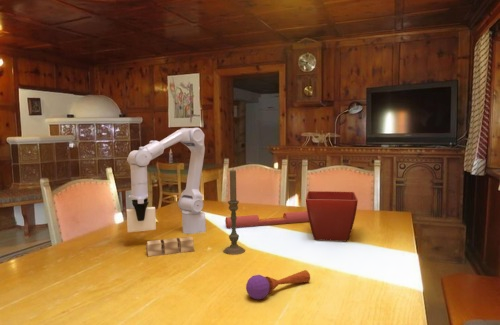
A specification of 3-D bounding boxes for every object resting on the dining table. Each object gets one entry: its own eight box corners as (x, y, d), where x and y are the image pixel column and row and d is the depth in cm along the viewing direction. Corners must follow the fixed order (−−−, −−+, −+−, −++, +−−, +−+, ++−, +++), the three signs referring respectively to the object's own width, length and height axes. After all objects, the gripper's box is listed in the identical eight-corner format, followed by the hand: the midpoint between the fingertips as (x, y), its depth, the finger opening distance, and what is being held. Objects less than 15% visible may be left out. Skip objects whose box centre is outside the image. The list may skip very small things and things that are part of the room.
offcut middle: (176, 249, 129) (176, 238, 129) (177, 252, 126) (177, 241, 125) (163, 250, 128) (163, 239, 128) (164, 254, 124) (164, 242, 124)
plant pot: (307, 229, 157) (307, 190, 155) (353, 231, 153) (354, 191, 152) (305, 242, 138) (305, 198, 137) (357, 245, 134) (358, 200, 133)
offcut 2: (191, 247, 131) (191, 236, 131) (193, 250, 127) (193, 239, 127) (179, 248, 130) (179, 237, 129) (181, 252, 126) (180, 241, 125)
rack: (188, 242, 140) (188, 236, 140) (194, 253, 127) (194, 247, 127) (145, 247, 135) (145, 240, 135) (147, 259, 122) (147, 252, 122)
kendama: (315, 271, 100) (256, 284, 89) (311, 291, 101) (253, 306, 90) (301, 261, 105) (243, 272, 93) (297, 280, 106) (240, 293, 95)
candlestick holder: (250, 250, 130) (249, 167, 127) (241, 259, 121) (240, 170, 118) (227, 248, 133) (225, 166, 130) (216, 256, 124) (215, 169, 121)
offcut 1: (160, 251, 128) (160, 239, 127) (161, 254, 124) (161, 243, 123) (147, 252, 126) (147, 241, 126) (148, 256, 122) (147, 244, 122)
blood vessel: (227, 229, 158) (227, 218, 158) (225, 227, 163) (225, 216, 163) (316, 222, 169) (316, 212, 168) (311, 220, 174) (311, 209, 173)
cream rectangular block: (155, 227, 138) (154, 206, 137) (156, 229, 135) (155, 208, 134) (127, 230, 134) (126, 208, 134) (127, 232, 132) (126, 210, 131)
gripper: (127, 181, 139) (129, 216, 140) (128, 186, 125) (129, 225, 126) (146, 180, 141) (148, 214, 142) (149, 185, 127) (150, 223, 128)
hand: (140, 219), depth 134 cm, fingers closed on cream rectangular block, 3 cm apart
